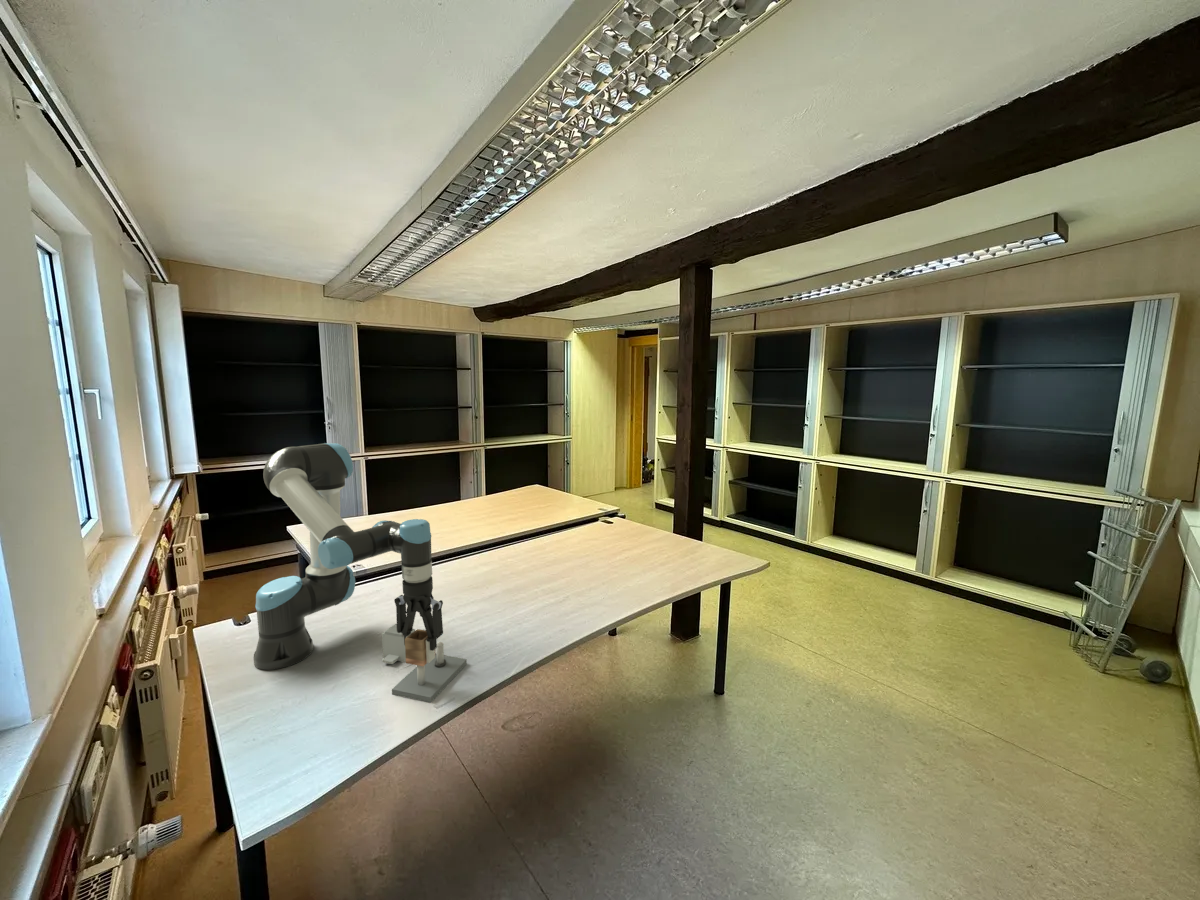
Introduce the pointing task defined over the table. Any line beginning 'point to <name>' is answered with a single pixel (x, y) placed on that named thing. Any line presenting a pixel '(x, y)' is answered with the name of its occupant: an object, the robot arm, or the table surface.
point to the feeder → (393, 646)
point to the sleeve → (416, 648)
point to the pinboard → (430, 677)
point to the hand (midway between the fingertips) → (421, 658)
